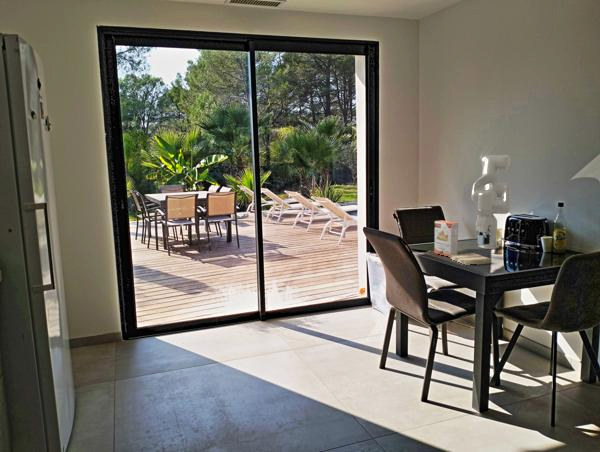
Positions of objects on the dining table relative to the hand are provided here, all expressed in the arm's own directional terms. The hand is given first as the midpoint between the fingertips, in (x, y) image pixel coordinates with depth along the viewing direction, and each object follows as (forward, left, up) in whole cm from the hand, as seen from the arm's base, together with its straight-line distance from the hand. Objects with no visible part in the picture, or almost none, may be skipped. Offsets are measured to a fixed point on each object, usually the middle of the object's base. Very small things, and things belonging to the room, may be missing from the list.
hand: (483, 242), depth 288 cm
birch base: (+9, -15, -8) cm, 19 cm away
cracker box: (-9, -20, -9) cm, 23 cm away
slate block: (0, 0, -1) cm, 1 cm away
